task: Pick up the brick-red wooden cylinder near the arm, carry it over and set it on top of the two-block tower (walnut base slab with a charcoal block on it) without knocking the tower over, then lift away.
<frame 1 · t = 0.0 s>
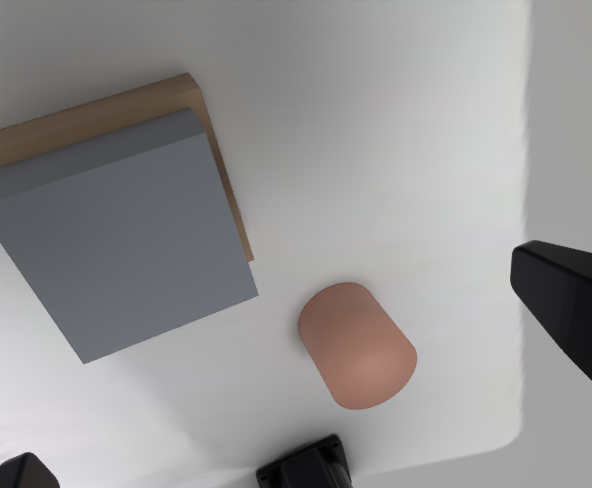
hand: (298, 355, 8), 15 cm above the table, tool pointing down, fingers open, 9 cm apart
tower top: (133, 218, 19), point 3 cm above the table
brick cylinder: (336, 316, 29), on the table
tower base: (129, 186, 21), on the table
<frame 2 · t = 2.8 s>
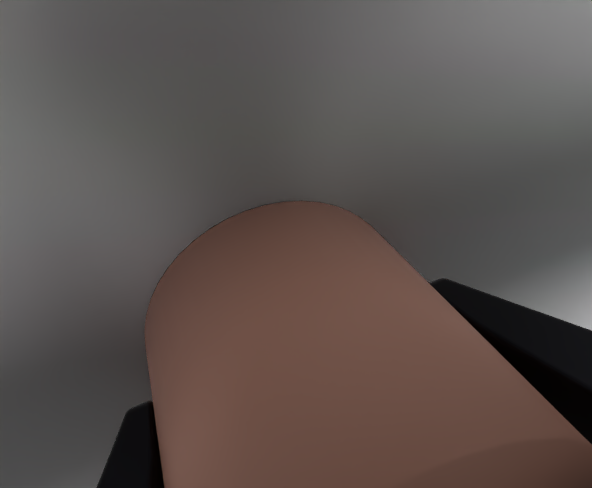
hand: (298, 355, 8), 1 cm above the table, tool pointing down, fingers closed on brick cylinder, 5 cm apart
brick cylinder: (279, 318, 9), on the table, touching gripper
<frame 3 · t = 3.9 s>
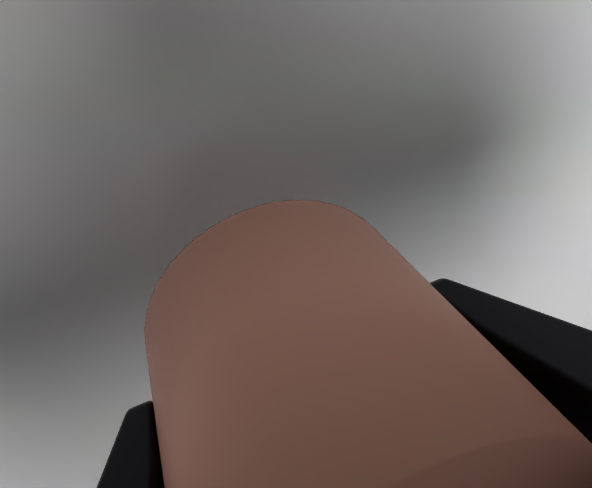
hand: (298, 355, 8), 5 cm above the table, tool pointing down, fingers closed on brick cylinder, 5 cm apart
brick cylinder: (279, 317, 9), point 4 cm above the table, touching gripper
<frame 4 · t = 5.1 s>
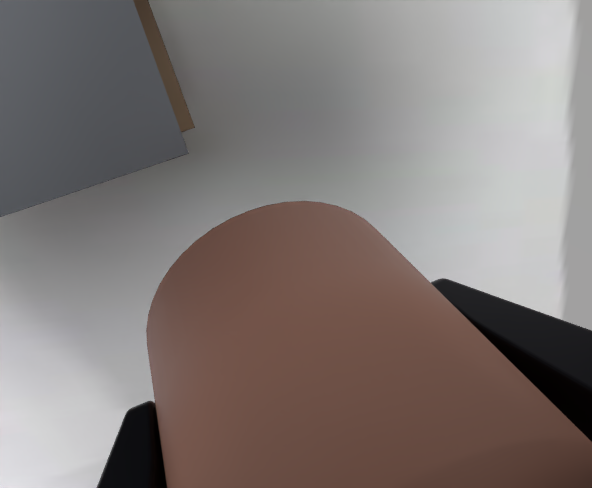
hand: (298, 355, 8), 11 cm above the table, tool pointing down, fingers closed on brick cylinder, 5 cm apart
brick cylinder: (281, 319, 9), point 10 cm above the table, touching gripper
tower base: (5, 19, 14), on the table
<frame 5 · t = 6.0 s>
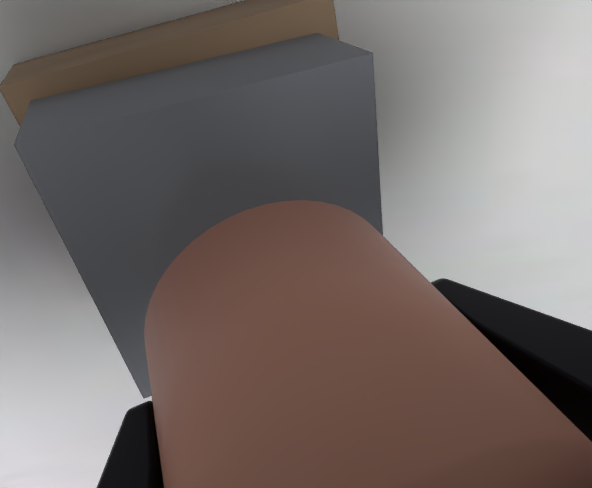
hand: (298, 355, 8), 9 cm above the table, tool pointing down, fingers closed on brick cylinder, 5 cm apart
tower top: (217, 192, 14), point 2 cm above the table, touching tower base
brick cylinder: (279, 318, 9), point 8 cm above the table, touching gripper
tower base: (203, 150, 16), on the table, touching tower top
when the fingers open (8 cm above the table, at t = 6.9 s): brick cylinder drops 2 cm, resting on tower top.
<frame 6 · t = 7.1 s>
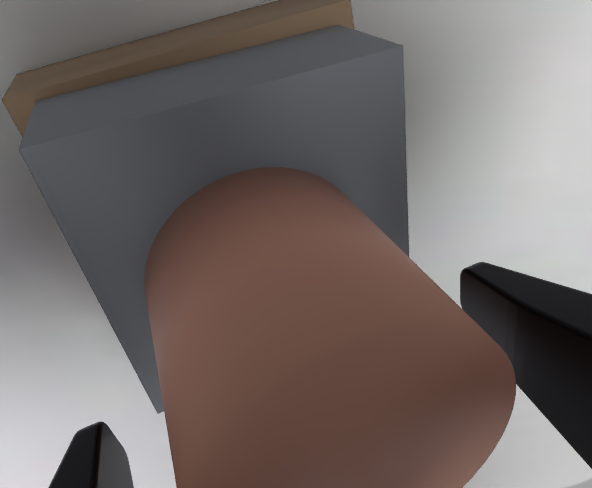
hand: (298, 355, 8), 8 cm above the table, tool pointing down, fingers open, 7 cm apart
tower top: (232, 195, 13), point 3 cm above the table, touching brick cylinder, tower base
brick cylinder: (261, 273, 11), point 5 cm above the table, touching tower top
tower base: (213, 160, 15), on the table, touching tower top
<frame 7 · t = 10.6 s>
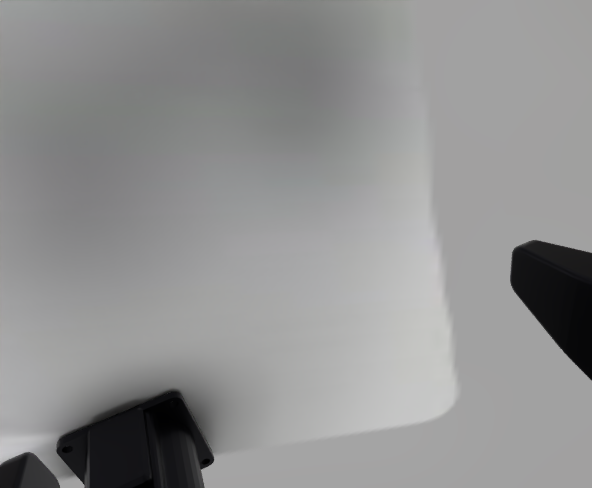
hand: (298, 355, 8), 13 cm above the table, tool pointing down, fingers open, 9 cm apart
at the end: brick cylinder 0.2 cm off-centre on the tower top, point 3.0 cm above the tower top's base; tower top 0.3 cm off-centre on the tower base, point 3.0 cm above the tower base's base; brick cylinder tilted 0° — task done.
